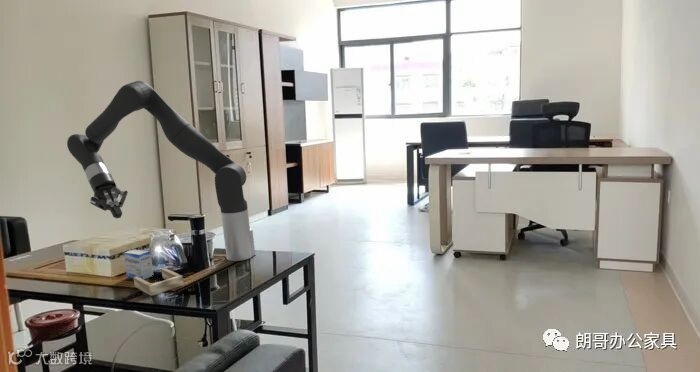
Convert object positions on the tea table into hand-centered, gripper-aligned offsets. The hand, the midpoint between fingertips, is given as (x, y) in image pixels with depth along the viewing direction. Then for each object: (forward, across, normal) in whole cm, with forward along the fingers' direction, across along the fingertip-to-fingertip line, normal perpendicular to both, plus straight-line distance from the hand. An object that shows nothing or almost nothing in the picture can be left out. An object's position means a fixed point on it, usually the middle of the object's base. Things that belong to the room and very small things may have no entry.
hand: (118, 216), depth 180 cm
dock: (+31, 0, -4) cm, 31 cm away
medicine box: (+21, 0, +6) cm, 22 cm away
